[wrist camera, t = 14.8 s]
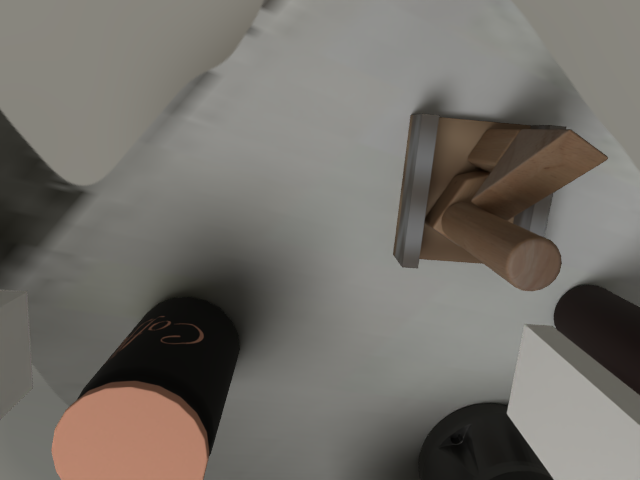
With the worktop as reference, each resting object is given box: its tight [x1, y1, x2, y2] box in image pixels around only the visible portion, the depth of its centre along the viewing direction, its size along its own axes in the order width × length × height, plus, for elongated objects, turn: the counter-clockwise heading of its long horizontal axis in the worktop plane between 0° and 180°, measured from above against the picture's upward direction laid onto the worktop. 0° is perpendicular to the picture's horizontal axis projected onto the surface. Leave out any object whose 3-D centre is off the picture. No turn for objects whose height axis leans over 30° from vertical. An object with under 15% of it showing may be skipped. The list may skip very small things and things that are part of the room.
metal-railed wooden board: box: [393, 114, 566, 268], centre depth 45 cm, size 14×13×4 cm
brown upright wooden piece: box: [424, 129, 608, 291], centre depth 37 cm, size 4×11×18 cm, turn 147°
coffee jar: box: [52, 297, 240, 480], centre depth 41 cm, size 11×11×18 cm
